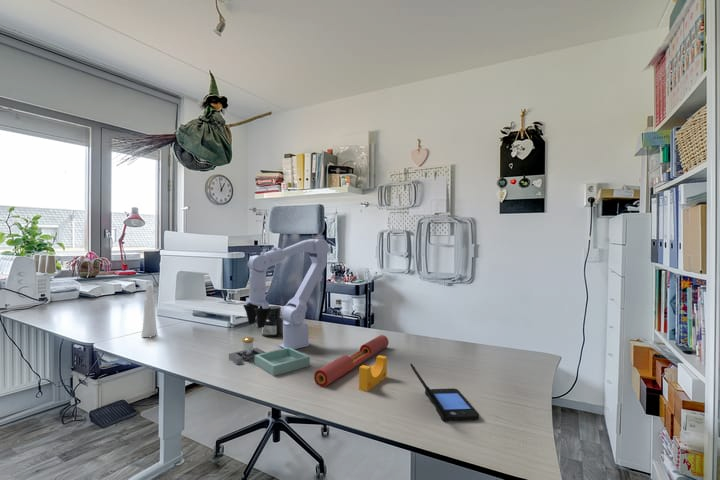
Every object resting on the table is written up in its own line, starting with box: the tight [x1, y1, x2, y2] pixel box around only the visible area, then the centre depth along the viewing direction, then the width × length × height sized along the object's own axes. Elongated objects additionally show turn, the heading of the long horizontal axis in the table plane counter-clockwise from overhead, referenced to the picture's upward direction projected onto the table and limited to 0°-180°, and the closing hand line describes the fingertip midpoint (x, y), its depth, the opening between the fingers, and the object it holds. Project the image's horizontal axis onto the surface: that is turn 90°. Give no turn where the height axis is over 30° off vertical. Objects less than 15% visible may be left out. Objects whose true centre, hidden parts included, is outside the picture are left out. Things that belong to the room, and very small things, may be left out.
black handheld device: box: [410, 363, 480, 423], centre depth 88 cm, size 16×14×9 cm
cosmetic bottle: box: [140, 283, 158, 338], centre depth 148 cm, size 6×6×22 cm
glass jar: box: [241, 336, 255, 362], centre depth 121 cm, size 4×4×7 cm
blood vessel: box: [313, 334, 390, 388], centre depth 118 cm, size 42×5×5 cm, turn 151°
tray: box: [254, 347, 311, 377], centre depth 115 cm, size 13×13×3 cm
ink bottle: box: [261, 305, 283, 338], centre depth 151 cm, size 10×9×12 cm
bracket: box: [228, 347, 266, 365], centre depth 122 cm, size 10×7×2 cm
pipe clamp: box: [358, 354, 388, 392], centre depth 102 cm, size 12×4×6 cm, turn 148°
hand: (256, 325), depth 126 cm, fingers open, 7 cm apart
